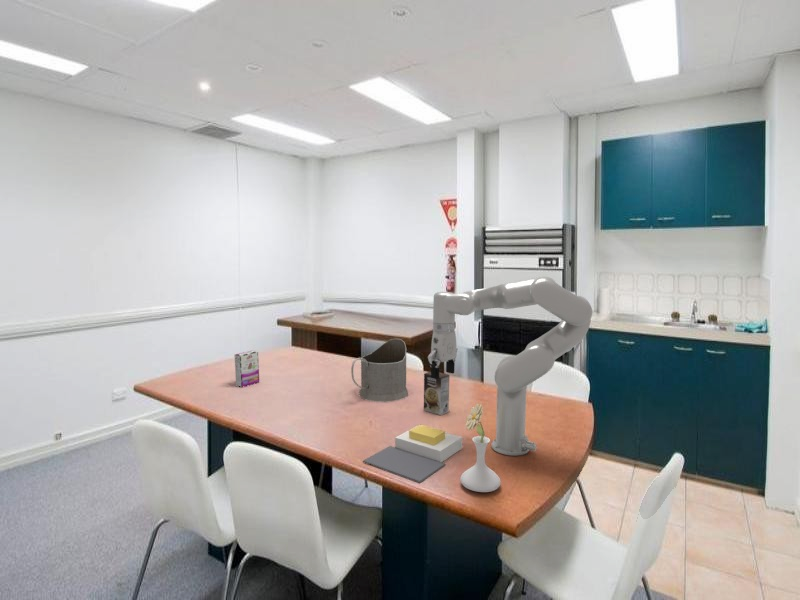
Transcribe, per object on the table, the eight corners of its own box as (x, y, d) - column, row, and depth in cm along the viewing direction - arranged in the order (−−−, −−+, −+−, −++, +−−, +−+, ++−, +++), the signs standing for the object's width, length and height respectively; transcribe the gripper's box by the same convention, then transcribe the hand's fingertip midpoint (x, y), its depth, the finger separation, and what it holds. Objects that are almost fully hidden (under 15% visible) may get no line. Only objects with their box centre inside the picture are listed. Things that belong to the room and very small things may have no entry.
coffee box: (423, 410, 193) (423, 373, 192) (432, 406, 198) (432, 370, 196) (440, 415, 187) (440, 377, 186) (449, 411, 192) (450, 374, 190)
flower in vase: (463, 474, 138) (464, 393, 135) (502, 479, 134) (504, 396, 132) (456, 496, 125) (457, 407, 123) (498, 502, 122) (500, 411, 119)
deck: (462, 448, 156) (462, 437, 155) (440, 463, 145) (440, 451, 144) (418, 435, 167) (418, 425, 166) (395, 448, 155) (395, 437, 155)
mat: (445, 465, 143) (445, 463, 143) (419, 483, 132) (419, 481, 132) (390, 447, 157) (390, 445, 156) (362, 462, 145) (362, 460, 145)
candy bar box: (253, 381, 238) (252, 350, 237) (259, 382, 236) (258, 351, 234) (235, 386, 229) (233, 354, 227) (241, 387, 226) (240, 355, 225)
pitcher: (418, 393, 217) (418, 341, 215) (370, 410, 194) (370, 352, 191) (383, 384, 233) (382, 335, 230) (335, 398, 209) (334, 345, 207)
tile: (445, 438, 154) (445, 431, 154) (433, 445, 149) (433, 437, 148) (420, 431, 160) (420, 424, 160) (409, 437, 155) (409, 430, 154)
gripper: (439, 332, 150) (438, 382, 152) (465, 325, 164) (464, 372, 166) (420, 329, 155) (419, 378, 157) (447, 323, 168) (446, 369, 170)
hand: (442, 375), depth 161 cm, fingers open, 9 cm apart
